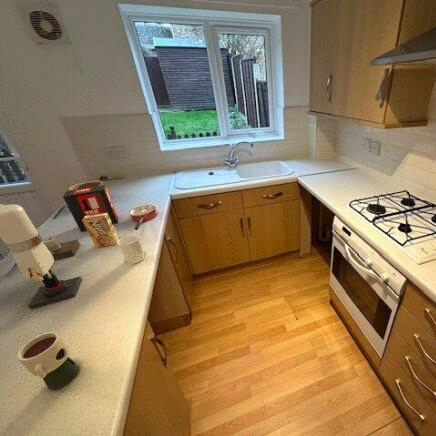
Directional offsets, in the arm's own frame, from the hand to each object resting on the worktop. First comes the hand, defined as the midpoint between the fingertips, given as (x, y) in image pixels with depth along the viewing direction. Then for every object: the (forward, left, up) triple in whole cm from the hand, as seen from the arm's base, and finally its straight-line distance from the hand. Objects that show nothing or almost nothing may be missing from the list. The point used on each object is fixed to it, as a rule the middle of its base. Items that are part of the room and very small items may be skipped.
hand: (53, 285), depth 85 cm
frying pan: (+26, +45, -4) cm, 52 cm away
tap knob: (-8, +31, -1) cm, 32 cm away
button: (0, 0, -2) cm, 2 cm away
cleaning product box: (+4, +56, -4) cm, 56 cm away
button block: (0, 0, -4) cm, 4 cm away
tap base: (-8, +31, -4) cm, 32 cm away
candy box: (+11, +30, -4) cm, 32 cm away
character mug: (+11, -38, -4) cm, 40 cm away
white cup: (+24, +10, -4) cm, 26 cm away
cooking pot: (-6, +95, -4) cm, 95 cm away
